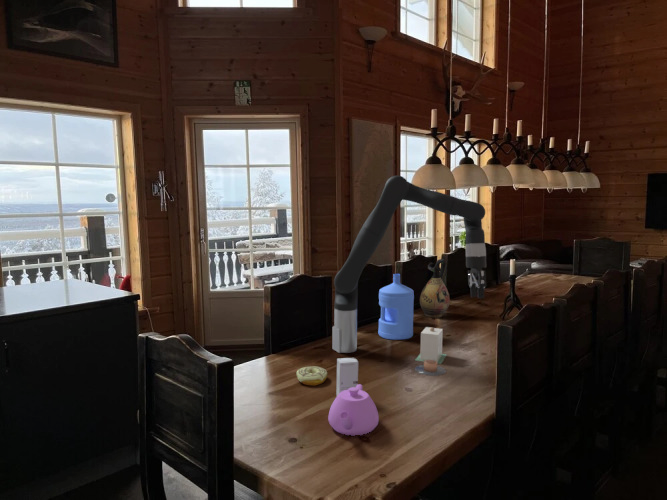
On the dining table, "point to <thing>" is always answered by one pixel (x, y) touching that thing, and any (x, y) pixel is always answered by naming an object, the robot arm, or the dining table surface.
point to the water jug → (396, 311)
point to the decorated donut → (311, 375)
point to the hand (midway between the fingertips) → (477, 297)
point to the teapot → (353, 412)
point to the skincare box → (346, 374)
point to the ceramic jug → (435, 292)
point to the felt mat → (438, 360)
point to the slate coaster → (439, 372)
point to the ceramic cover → (431, 344)
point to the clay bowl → (430, 365)
